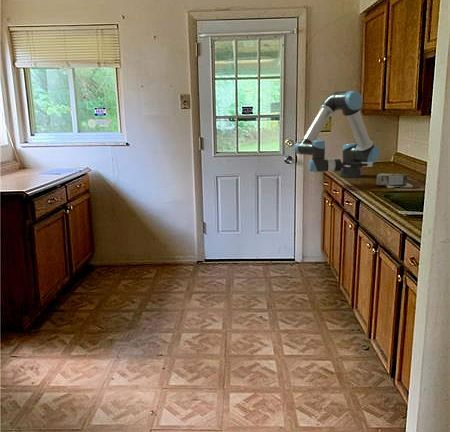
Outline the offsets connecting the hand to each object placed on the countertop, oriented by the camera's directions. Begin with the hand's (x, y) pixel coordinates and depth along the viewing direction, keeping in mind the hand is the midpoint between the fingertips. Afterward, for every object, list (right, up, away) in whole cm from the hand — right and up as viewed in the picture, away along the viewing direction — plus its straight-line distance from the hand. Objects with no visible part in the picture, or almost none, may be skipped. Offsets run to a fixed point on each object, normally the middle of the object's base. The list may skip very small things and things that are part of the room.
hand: (372, 164), depth 282 cm
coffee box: (+5, -9, +2) cm, 10 cm away
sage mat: (+15, -13, +3) cm, 20 cm away
